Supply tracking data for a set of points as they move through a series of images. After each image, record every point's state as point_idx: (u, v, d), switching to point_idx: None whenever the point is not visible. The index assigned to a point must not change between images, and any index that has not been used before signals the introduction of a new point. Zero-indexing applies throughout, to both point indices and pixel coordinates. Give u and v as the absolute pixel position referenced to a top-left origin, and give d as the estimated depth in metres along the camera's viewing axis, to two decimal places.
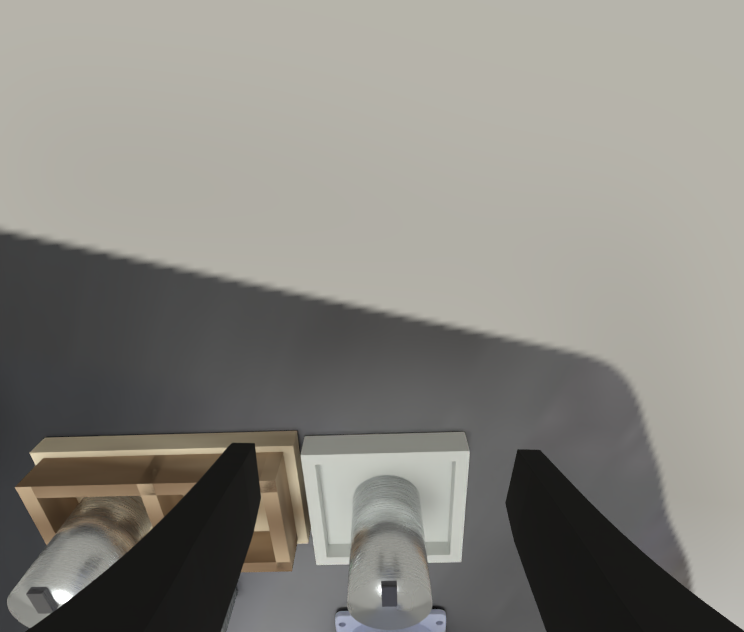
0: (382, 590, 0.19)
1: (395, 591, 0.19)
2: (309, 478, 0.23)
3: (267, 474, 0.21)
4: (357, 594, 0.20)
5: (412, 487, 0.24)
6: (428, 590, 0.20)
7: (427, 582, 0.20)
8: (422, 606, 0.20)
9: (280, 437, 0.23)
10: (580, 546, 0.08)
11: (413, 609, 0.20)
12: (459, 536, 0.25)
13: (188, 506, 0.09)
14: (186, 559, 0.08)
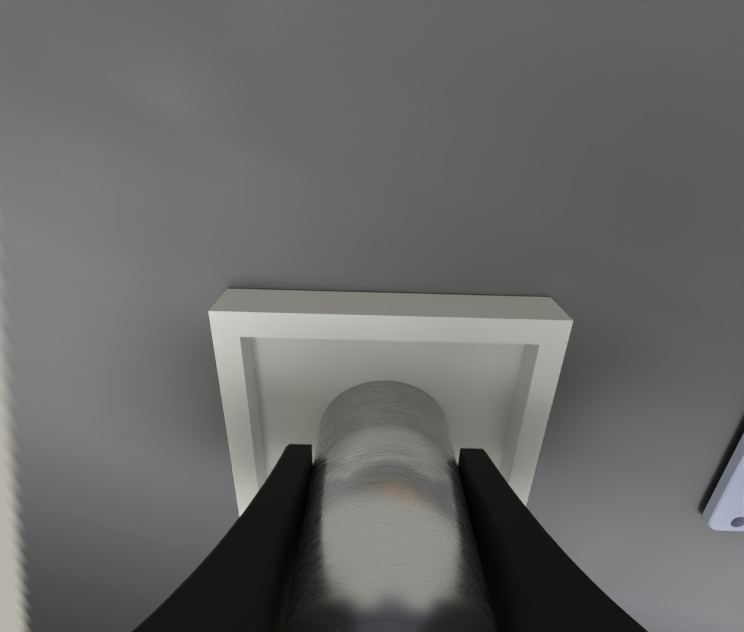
0: None
1: None
2: None
3: None
4: None
5: (341, 398, 0.12)
6: (344, 587, 0.07)
7: (345, 566, 0.07)
8: (403, 606, 0.07)
9: None
10: (502, 544, 0.08)
11: (414, 621, 0.07)
12: (478, 325, 0.11)
13: (261, 508, 0.09)
14: (271, 561, 0.08)
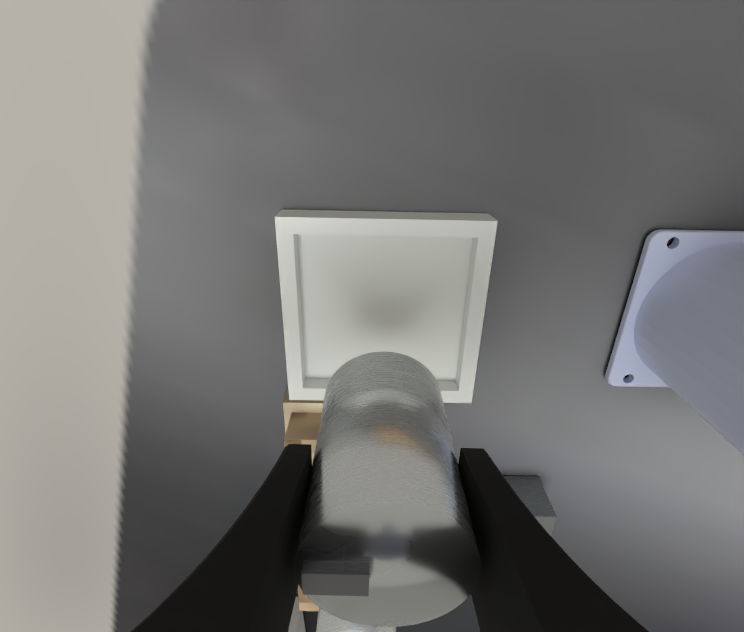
0: (312, 593, 0.09)
1: (316, 576, 0.09)
2: (322, 395, 0.21)
3: None
4: (346, 612, 0.10)
5: (344, 367, 0.14)
6: (349, 507, 0.08)
7: (350, 492, 0.09)
8: (398, 523, 0.08)
9: None
10: (502, 544, 0.08)
11: (407, 538, 0.09)
12: (439, 225, 0.17)
13: (260, 508, 0.09)
14: (270, 561, 0.08)
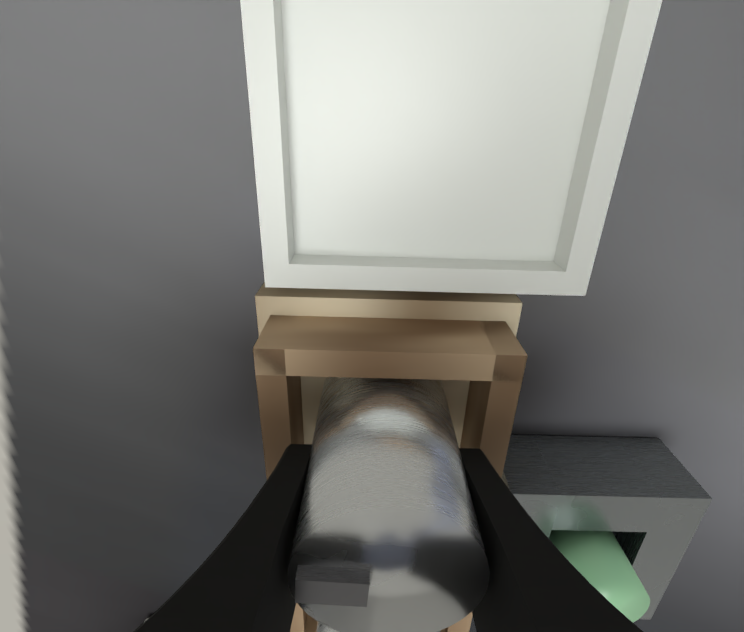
0: (306, 601, 0.08)
1: (312, 583, 0.08)
2: (324, 278, 0.12)
3: None
4: (340, 622, 0.09)
5: None
6: (352, 509, 0.08)
7: (352, 493, 0.08)
8: (404, 529, 0.08)
9: None
10: (498, 544, 0.08)
11: (413, 545, 0.08)
12: None
13: (262, 508, 0.09)
14: (272, 561, 0.08)
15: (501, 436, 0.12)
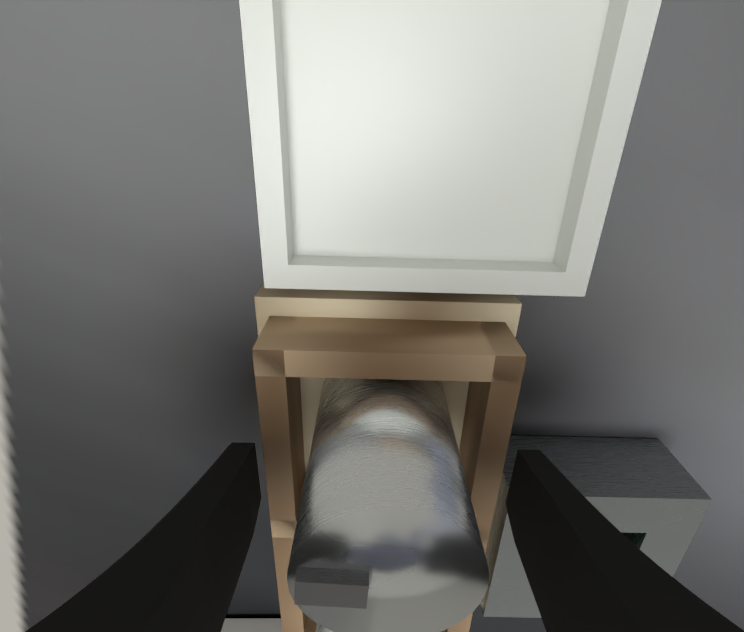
0: (305, 603, 0.08)
1: (311, 585, 0.08)
2: (323, 279, 0.12)
3: None
4: (340, 624, 0.09)
5: None
6: (351, 511, 0.08)
7: (352, 494, 0.08)
8: (404, 530, 0.08)
9: None
10: (580, 546, 0.08)
11: (412, 547, 0.08)
12: None
13: (188, 506, 0.09)
14: (185, 560, 0.08)
15: (501, 437, 0.12)
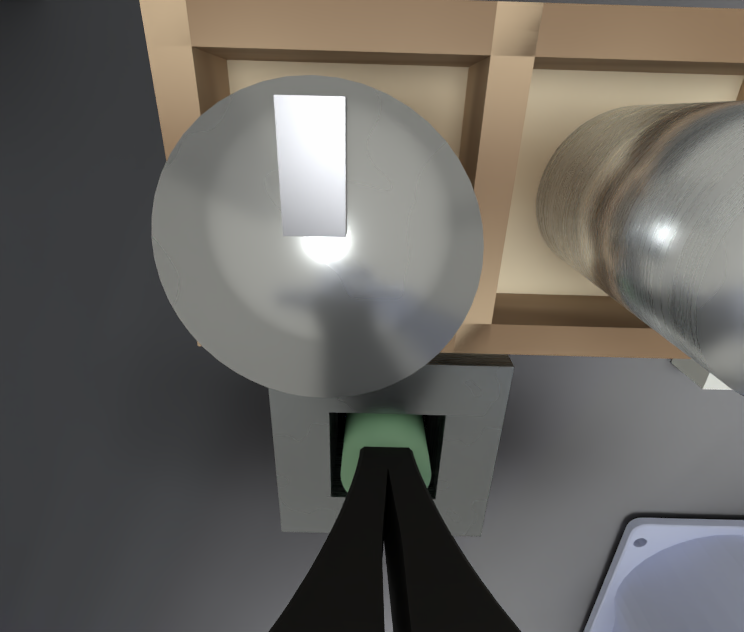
0: None
1: None
2: None
3: None
4: None
5: None
6: None
7: None
8: None
9: None
10: (400, 541, 0.08)
11: None
12: None
13: (356, 510, 0.09)
14: None
15: (636, 348, 0.10)
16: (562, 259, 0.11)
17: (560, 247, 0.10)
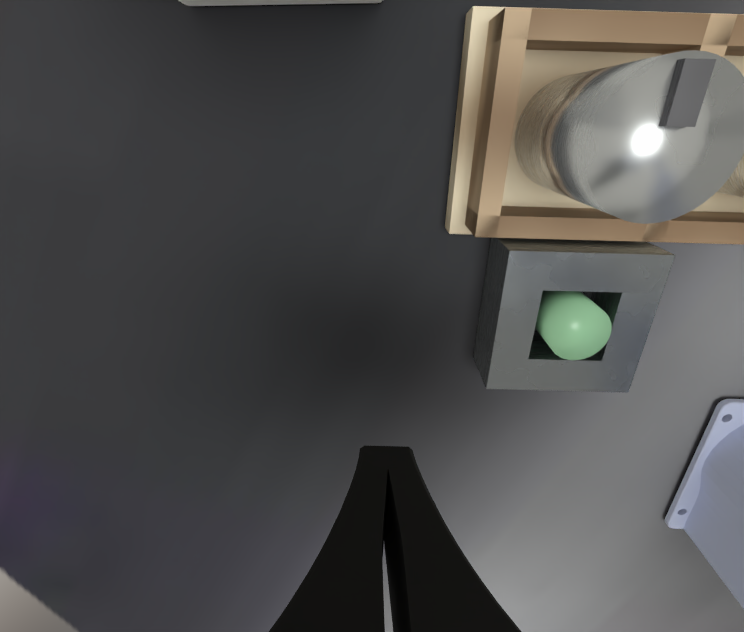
0: None
1: None
2: None
3: None
4: None
5: None
6: None
7: None
8: None
9: None
10: (401, 542, 0.08)
11: None
12: None
13: (356, 510, 0.09)
14: None
15: None
16: None
17: None
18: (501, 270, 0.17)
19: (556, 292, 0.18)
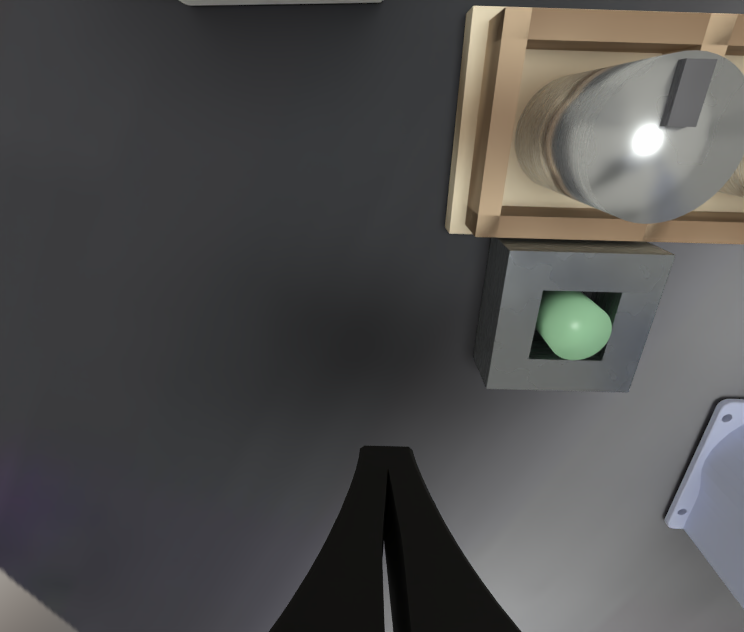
0: None
1: None
2: None
3: None
4: None
5: None
6: None
7: None
8: None
9: None
10: (400, 541, 0.08)
11: None
12: None
13: (356, 510, 0.09)
14: None
15: None
16: None
17: None
18: (501, 270, 0.17)
19: (556, 292, 0.18)
